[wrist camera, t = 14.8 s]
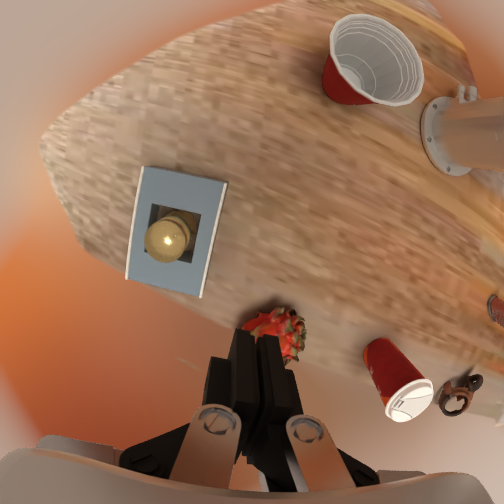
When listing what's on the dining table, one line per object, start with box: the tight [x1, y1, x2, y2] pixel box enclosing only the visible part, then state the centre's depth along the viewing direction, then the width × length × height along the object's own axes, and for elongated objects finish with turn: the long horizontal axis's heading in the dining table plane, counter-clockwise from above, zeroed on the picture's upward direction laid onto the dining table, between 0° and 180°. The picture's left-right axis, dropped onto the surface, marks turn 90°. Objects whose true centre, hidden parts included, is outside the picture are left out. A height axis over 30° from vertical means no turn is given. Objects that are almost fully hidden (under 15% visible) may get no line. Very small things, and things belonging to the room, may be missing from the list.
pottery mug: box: [439, 374, 483, 416], centre depth 46 cm, size 12×10×8 cm
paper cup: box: [363, 338, 433, 422], centre depth 37 cm, size 8×8×14 cm
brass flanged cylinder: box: [144, 210, 196, 263], centre depth 33 cm, size 4×4×8 cm
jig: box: [125, 166, 228, 298], centre depth 35 cm, size 14×10×4 cm
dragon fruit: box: [242, 307, 307, 366], centre depth 38 cm, size 8×8×12 cm
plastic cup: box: [322, 14, 424, 107], centre depth 26 cm, size 11×11×12 cm
